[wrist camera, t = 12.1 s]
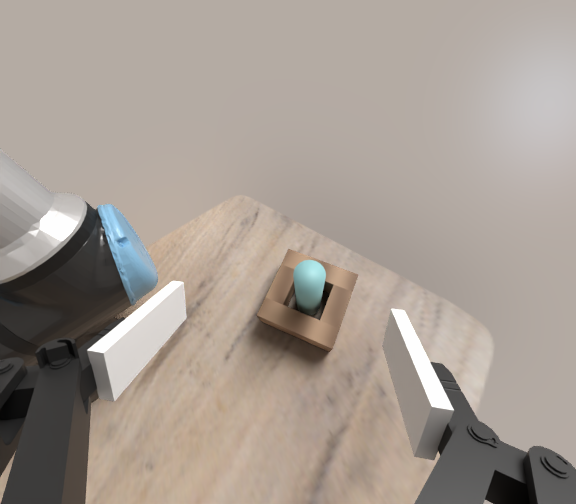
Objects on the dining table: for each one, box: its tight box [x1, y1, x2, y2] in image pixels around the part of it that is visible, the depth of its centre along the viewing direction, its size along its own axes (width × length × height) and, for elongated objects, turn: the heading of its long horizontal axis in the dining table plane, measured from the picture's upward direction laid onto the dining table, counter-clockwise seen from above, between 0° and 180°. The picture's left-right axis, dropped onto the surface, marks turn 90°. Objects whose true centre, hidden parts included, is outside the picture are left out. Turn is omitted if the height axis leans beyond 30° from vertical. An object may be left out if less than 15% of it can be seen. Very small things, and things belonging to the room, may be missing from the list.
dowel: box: [293, 260, 326, 315], centre depth 39 cm, size 4×4×14 cm
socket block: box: [257, 249, 358, 352], centre depth 43 cm, size 12×12×5 cm
